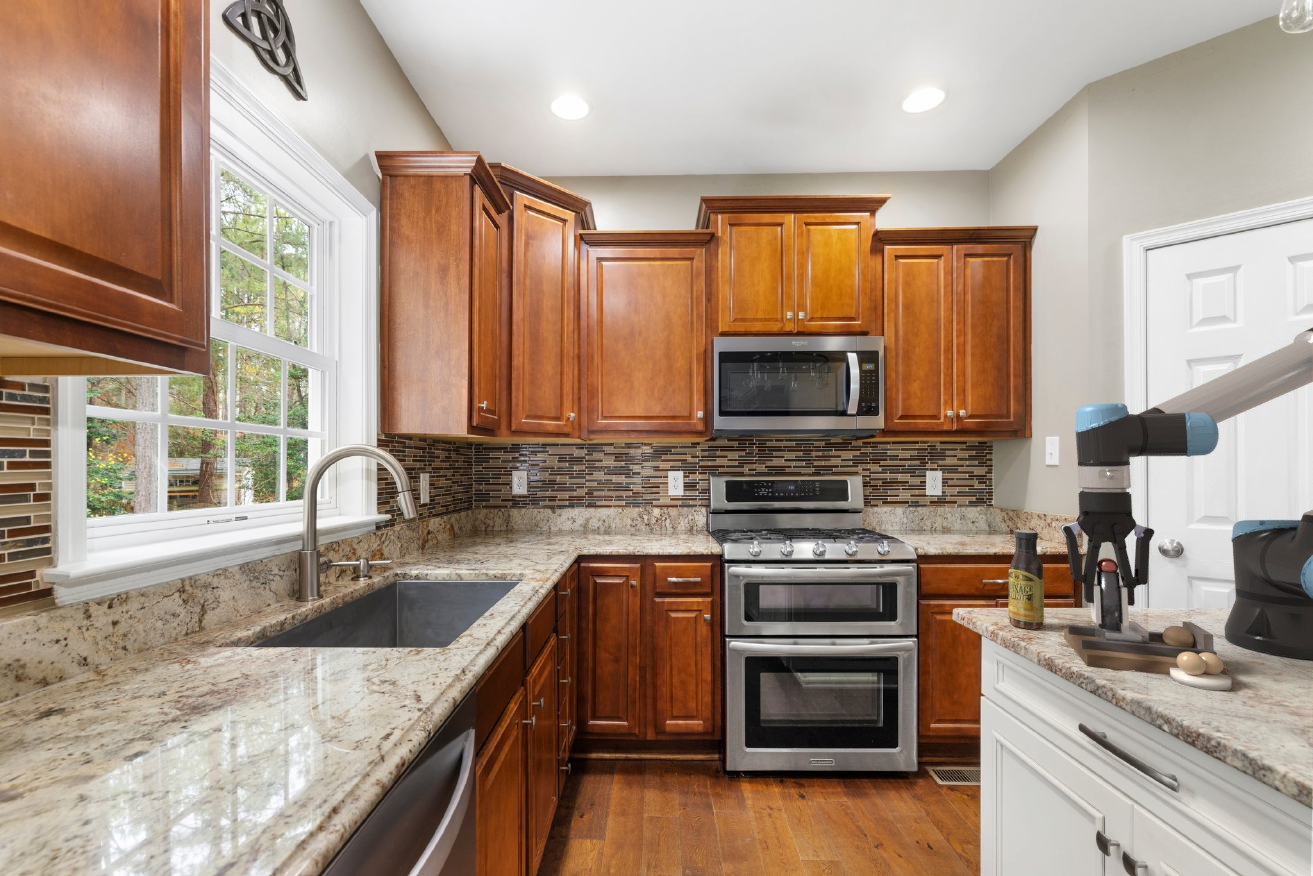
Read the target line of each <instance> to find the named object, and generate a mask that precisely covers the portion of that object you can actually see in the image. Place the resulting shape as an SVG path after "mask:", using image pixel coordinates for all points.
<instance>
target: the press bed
mask: <svg viewBox="0 0 1313 876" xmlns="http://www.w3.org/2000/svg"><path fill="white" fill-rule="evenodd" d="M1181 622H1182V623H1181V624H1182V627H1183V628H1185V629H1187V630H1188V631H1189V632H1190V633H1191V634H1192V635H1193V638H1194V644H1193V646H1192V647H1191V648H1186V647H1175V646H1168V645H1167V644H1166V643H1165V641H1164V640H1163V632H1161V631H1160V632H1159V631H1150V630H1147V631H1148V632H1149V644H1141V643H1130V642H1119V641H1108V640H1099V639H1098V638H1097V637H1096V636H1095V626H1087V625H1076V624H1067V628H1063V639H1064V640H1065V642H1066V643H1067V644H1068V645H1069V646H1070V648H1071V649H1072V650H1073V649H1074V650H1073V652H1075V654H1076V655H1077V656H1078V657H1079V658H1080V659H1081V660H1082V661H1083V663H1084V664H1085V665H1086V666H1087V667H1092V668H1100V667H1101V669H1102V668H1103V669H1111V670H1119V669H1122V670H1121V671H1129V670H1135V671H1134V672H1138V671H1140V673H1148V672H1149V674H1157V675H1158V674H1159V675H1167V674H1170V668H1171V667H1172V668H1179V667H1178V665H1177V662H1176V659H1177V656H1178V655H1179V654H1180V653H1183V652H1193V653H1196V654H1200V653H1203V652H1209V653H1213V654H1215V655H1217V656H1218V652H1217V651H1216V650H1214V649H1215V647H1214V634H1213V633H1211V632H1209V631H1208V630H1206V629H1204V628H1202V627H1200V626H1199V625H1197V624H1195V623H1194V622H1192V621H1184V620H1182V621H1181ZM1227 669H1228V668H1227V666H1224V667H1223V670H1222V671H1221V672H1220V673H1221V674H1224V675H1226V676H1228V670H1227ZM1150 672H1151V673H1150Z"/></svg>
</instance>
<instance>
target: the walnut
mask: <svg viewBox="0 0 1313 876" xmlns="http://www.w3.org/2000/svg"><path fill="white" fill-rule="evenodd" d="M1162 633H1163V640H1164V641H1165V643H1166V644H1167V645H1168V646H1175V647H1186V648H1191V647H1192V646H1193V644H1194V638H1193V635H1192V634H1191V633H1190V632H1189V631H1188V630H1187V629H1185V628H1183V626H1179V625H1171V626H1167V627H1166V628H1165V629H1164V630H1163V632H1162Z"/></svg>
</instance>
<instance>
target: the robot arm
mask: <svg viewBox="0 0 1313 876" xmlns="http://www.w3.org/2000/svg"><path fill="white" fill-rule="evenodd" d="M1311 383H1313V326H1312V327H1311V328H1309V329H1306V330H1305V331H1302V332H1300V333H1298V334H1297V335H1295V337H1294V338H1293V342H1292V343H1290V344H1288V345H1286V346H1284V347H1281V348H1279V349H1277V350H1275V351H1272V352H1271V353H1267V354H1266V355H1263V356H1262V357H1259V358H1257V359H1255V360H1252V361H1251V362H1248V363H1246V364H1244V365H1242V366H1240V367H1238V368H1235V369H1234V370H1231V371H1229V372H1226V373H1224V374H1223V375H1220V376H1218V377H1216V378H1214V379H1211V380H1209V381H1207V382H1205V383H1202V384H1200V385H1198V386H1196V387H1194V388H1192V389H1189V390H1188V391H1185V392H1183V393H1181V394H1179V395H1177V396H1175V397H1172V398H1169V399H1168V400H1166V401H1163V402H1161V403H1158V404H1157V405H1154V406H1153V407H1151V408H1148V409H1146V410H1144V411H1141V412H1139V413H1136V414H1135V413H1134V414H1133V413H1130V412H1129V410H1128V405H1126V404H1125V403H1122V402H1121V403H1120V402H1119V403H1114V402H1113V403H1096V404H1086V405H1081V406H1080V407H1079V408H1078V409H1076V412H1075V429H1074V433H1075V441H1076V455H1077V456H1076V457H1077V458H1076V459H1077V487H1078V488H1079V489H1081V490H1080V491H1079V492H1078V511H1079V512H1078V517H1077V518H1076V520H1075V522H1073V523H1069V524H1062V525H1060V531H1061V532H1062V533H1063V535H1064V537H1065V542H1066V548H1067V549H1066V550H1067V557H1068V565H1069V571H1070V572H1069V573H1070V576H1071V578H1072V579H1073V580H1075V581H1077V582H1080V583H1081V584H1083V598H1084V600H1085V602H1086V603H1088V604H1090V606H1091V607H1090V609H1091V620H1092V621H1093V622H1094V624H1095V623H1099V624H1101V604H1100V586H1098V585H1097V583H1095V581H1096V577H1097V573H1096V570H1098V568H1097V564H1098V561H1099V556H1100V549H1101V548H1102V544H1104V543H1111V546H1112V547H1113V550H1114V555H1115V561H1116V563H1117V565H1118V572H1119V578H1120V579H1121V583H1122V584H1120V604H1121V625H1124V626H1129V621H1130V620H1129V606H1130V607H1131V606H1132V607H1134V605H1135V603H1136V602H1135V600H1136V599H1135V589H1136V588H1137V587H1138V586H1141V585H1142V586H1143V585H1147V584H1148V581H1149V580H1148V579H1149V562H1150V561H1149V560H1150V545H1151V544H1150V542H1151V540H1152V538H1153V537H1154V535H1155V530H1154V529H1153V528H1150V527H1147V526H1142V525H1140V524H1137V521H1136V519H1134V515H1133V504H1132V503H1133V502H1132V501H1133V500H1132V499H1133V498H1132V493H1130V491H1127V489H1130V488H1131V487H1132V482H1131V468H1130V466H1131V461H1130V459H1131V458H1137V457H1188V458H1190V457H1196V456H1199V457H1200V456H1207V455H1209V454H1211V453H1213V452H1214V450H1215V449H1216V448H1217V445H1218V442H1219V439H1220V438H1219V434H1220V433H1219V427H1218V424H1219V423H1221V422H1224V421H1226V420H1228V419H1230V418H1233V417H1235V416H1238V415H1240V414H1242V413H1244V412H1247V411H1250V410H1252V409H1253V408H1256V407H1258V406H1261V405H1263V404H1266V403H1269V401H1272V400H1275V399H1277V398H1279V397H1281V396H1283V395H1286V394H1288V393H1291V392H1293V391H1295V390H1298V389H1300V388H1303V387H1304V386H1306V385H1309V384H1311ZM1079 529H1080V530H1081V531H1082V532H1083V533H1084V534H1085V535H1086V536H1087V549H1086V554H1085V561H1084V568H1083V573H1082V567H1081V559H1080V550H1079V544H1078V539H1077V536H1078V535H1079ZM1132 531H1134V533H1133V534H1134V536H1135V537H1136V540H1135V550H1134V551H1135V553H1134V572H1133V571H1132V567H1131V564H1130V559H1129V556H1128V555H1129V554H1128V551H1127V542H1126V540H1125V539H1126V538H1127V537H1128V536H1129V535H1131V533H1132ZM1230 539H1231V540H1230V541H1231V543H1232V555H1233V571H1234V573H1233V574H1234V589H1235V601H1234V603H1233V605H1232V607H1231V610H1230V613H1229V615H1228V618H1227V620H1226V622H1225V625H1224V638H1225V640H1226V641H1227V642H1229V643H1231V644H1234V645H1236V646H1239V647H1241V648H1244V649H1249V650H1252V651H1255V652H1256V651H1257V652H1261V653H1266V654H1270V655H1277V656H1280V657H1288V658H1295V659H1302V660H1303V659H1304V660H1305V659H1306V660H1313V509H1310V510H1309V511H1308V510H1307V511H1305V512H1303V514H1302V516H1301V518H1300V519H1250V520H1249V519H1247V520H1246V519H1245V520H1239V521H1237V522H1235V523H1234V524H1233V526H1232V535H1231V538H1230ZM1133 574H1134V575H1133Z"/></svg>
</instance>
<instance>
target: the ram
mask: <svg viewBox="0 0 1313 876" xmlns="http://www.w3.org/2000/svg"><path fill="white" fill-rule="evenodd" d="M1120 583H1121V582H1120V572H1119V568H1118V564H1117V561H1116V560H1114V559H1112V558H1110V557H1102V558H1100V559H1098V564H1097V570H1096V584H1097V585H1098V586H1100V604H1101V624H1099V623H1095V622H1094V627H1095V636H1096V637H1097V638H1098V639H1099V640H1108V641H1119V642H1130V643H1141V644H1149V632H1148V631H1149V630H1147V628H1145V627H1143V626H1142V625H1140V624H1139V623H1138V622H1136V621H1134V620H1129V626H1124V625H1122V624H1121V604H1120V585H1121V584H1120Z"/></svg>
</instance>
